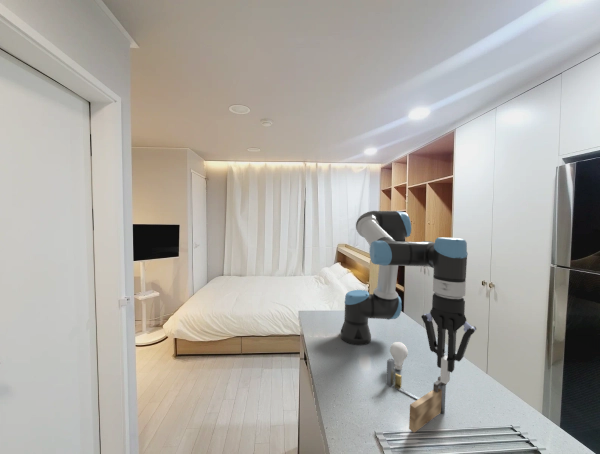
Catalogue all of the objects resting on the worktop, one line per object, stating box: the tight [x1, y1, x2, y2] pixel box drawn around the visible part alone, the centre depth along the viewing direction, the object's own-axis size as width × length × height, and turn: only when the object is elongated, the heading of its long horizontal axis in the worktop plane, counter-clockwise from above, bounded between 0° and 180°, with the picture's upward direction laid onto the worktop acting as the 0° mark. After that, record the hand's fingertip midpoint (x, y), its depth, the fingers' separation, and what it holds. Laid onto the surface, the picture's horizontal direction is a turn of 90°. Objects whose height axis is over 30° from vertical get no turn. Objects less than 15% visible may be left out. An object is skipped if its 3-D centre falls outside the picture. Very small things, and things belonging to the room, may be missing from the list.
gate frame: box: [385, 357, 447, 415], centre depth 84 cm, size 19×3×9 cm, turn 43°
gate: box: [408, 375, 447, 433], centre depth 74 cm, size 17×2×10 cm, turn 123°
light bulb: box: [389, 341, 409, 371], centre depth 99 cm, size 7×7×11 cm
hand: (445, 380), depth 68 cm, fingers closed
